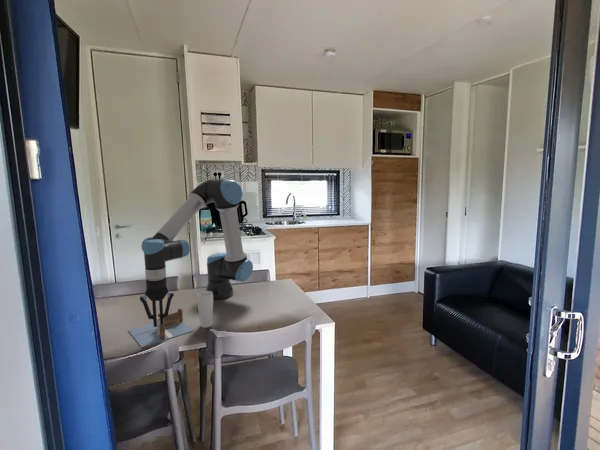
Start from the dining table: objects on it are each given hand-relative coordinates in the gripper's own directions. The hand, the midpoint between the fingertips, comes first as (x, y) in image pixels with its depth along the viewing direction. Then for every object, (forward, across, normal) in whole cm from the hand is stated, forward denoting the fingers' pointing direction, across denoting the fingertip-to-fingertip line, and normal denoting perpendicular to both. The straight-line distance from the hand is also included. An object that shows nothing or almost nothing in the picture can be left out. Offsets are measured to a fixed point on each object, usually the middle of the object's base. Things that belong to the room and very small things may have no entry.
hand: (159, 333), depth 137 cm
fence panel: (+1, +1, +4) cm, 4 cm away
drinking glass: (+2, +20, +4) cm, 20 cm away
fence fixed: (+2, +6, +11) cm, 12 cm away
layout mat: (+2, +1, +6) cm, 7 cm away
